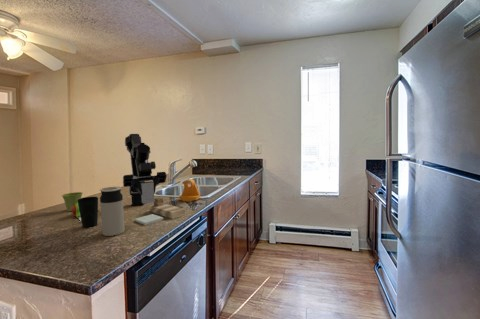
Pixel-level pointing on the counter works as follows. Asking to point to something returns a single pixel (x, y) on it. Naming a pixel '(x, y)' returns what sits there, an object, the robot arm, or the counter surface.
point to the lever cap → (147, 192)
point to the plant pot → (71, 199)
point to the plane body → (166, 209)
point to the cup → (88, 211)
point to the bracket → (190, 191)
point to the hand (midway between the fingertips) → (148, 194)
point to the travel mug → (112, 211)
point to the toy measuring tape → (76, 211)
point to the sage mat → (149, 219)
